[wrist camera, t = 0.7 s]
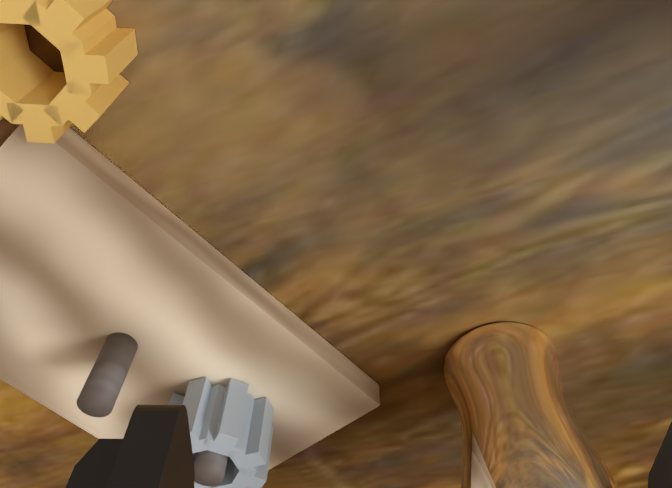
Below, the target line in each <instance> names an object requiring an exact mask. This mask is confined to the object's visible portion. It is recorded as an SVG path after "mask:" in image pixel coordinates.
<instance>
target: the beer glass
mask: <svg viewBox="0 0 672 488" xmlns="http://www.w3.org/2000/svg"><path fill="white" fill-rule="evenodd" d="M444 377H445V381H446V383H447V386H448V388H449V391H450V393H451V395H452V398H453V400H454V402H455V405H456V407H457V410H458V413H459V417H460V422H461V430H462V471H461V488H619V487H618V485H617V483H616V481H615V480H614V478H613V476H612V474H611V473H610V471H609V470H608V468H607V466H606V465H605V463H604V462H603V460H602V459H601V457H600V455H599V454H598V452H597V451H596V449H595V447H594V446H593V444H592V443H591V441H590V440H589V438H588V437H587V435H586V434H585V432H584V430H583V429H582V427H581V426H580V424H579V422H578V421H577V419H576V417H575V416H574V414H573V412H572V410H571V408H570V406H569V404H568V402H567V399H566V396H565V393H564V390H563V385H562V379H561V371H560V364H559V358H558V354H557V351H556V348H555V346H554V344H553V342H552V341H551V340H550V339H549V338H548V336H547V335H545V334H544V333H543V332H541V331H540V330H538V329H536V328H534V327H532V326H529V325H525V324H521V323H514V322H501V323H493V324H488V325H485V326H481V327H479V328H476V329H474V330H472V331H470V332H468V333H466V334H465V335H463V336H462V337H461V338H459V339H458V340H457V341H456V342H455V343H454V344H453V345H452V347H451V348H450V349H449V351H448V353H447V355H446V358H445V361H444Z"/></svg>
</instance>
